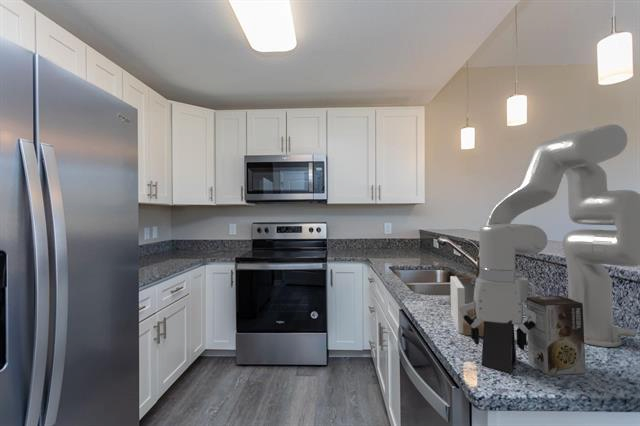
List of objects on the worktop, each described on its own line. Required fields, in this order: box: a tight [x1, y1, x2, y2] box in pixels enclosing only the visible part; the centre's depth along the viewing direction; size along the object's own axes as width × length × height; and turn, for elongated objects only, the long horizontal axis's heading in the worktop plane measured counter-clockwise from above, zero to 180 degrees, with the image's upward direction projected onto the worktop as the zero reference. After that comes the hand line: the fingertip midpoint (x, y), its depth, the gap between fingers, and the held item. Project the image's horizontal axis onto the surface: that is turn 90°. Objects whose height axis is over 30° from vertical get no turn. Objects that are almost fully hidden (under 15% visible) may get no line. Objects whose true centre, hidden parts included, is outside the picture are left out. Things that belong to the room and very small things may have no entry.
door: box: [462, 304, 484, 337], centre depth 87 cm, size 2×13×9 cm, turn 73°
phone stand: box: [481, 320, 518, 375], centre depth 73 cm, size 9×6×12 cm, turn 138°
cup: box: [515, 276, 537, 302], centre depth 126 cm, size 7×10×9 cm
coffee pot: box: [447, 274, 475, 307], centre depth 110 cm, size 21×12×15 cm, turn 52°
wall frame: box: [449, 275, 465, 335], centre depth 99 cm, size 2×18×14 cm, turn 162°
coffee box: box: [526, 295, 587, 376], centre depth 70 cm, size 9×6×16 cm
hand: (497, 345), depth 73 cm, fingers open, 9 cm apart
